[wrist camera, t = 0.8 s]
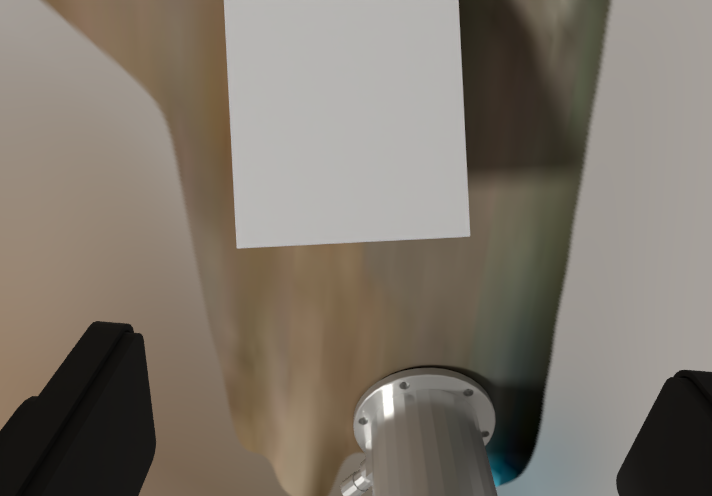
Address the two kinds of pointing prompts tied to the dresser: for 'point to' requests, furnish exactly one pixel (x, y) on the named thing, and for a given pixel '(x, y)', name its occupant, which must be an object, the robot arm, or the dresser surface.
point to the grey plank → (346, 121)
